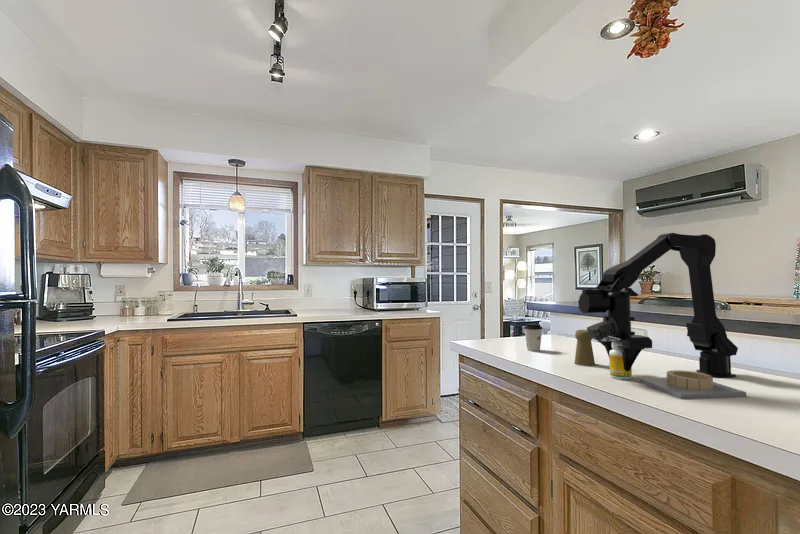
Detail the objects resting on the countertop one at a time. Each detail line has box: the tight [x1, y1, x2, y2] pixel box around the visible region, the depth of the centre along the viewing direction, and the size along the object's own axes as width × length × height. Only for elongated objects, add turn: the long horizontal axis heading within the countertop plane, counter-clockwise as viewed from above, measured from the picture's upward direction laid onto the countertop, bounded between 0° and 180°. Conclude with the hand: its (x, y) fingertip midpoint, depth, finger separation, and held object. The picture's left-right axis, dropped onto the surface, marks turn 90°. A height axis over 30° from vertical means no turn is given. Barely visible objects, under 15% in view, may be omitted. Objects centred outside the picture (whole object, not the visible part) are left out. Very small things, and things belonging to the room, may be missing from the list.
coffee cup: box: [523, 323, 543, 352], centre depth 148 cm, size 7×7×10 cm
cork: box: [574, 329, 596, 367], centre depth 125 cm, size 6×6×11 cm
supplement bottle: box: [608, 342, 633, 381], centre depth 108 cm, size 5×5×10 cm
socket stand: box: [639, 369, 747, 400], centre depth 96 cm, size 16×14×4 cm
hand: (620, 368), depth 108 cm, fingers closed on supplement bottle, 5 cm apart
